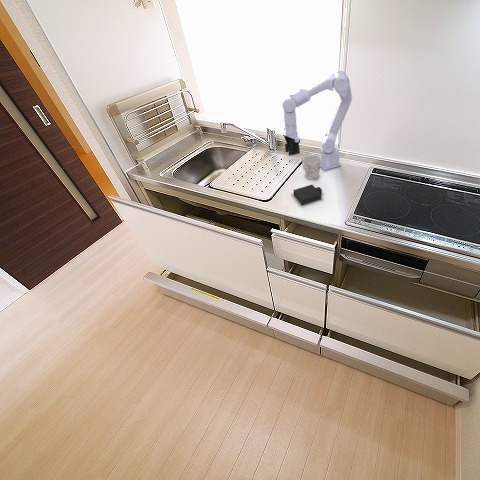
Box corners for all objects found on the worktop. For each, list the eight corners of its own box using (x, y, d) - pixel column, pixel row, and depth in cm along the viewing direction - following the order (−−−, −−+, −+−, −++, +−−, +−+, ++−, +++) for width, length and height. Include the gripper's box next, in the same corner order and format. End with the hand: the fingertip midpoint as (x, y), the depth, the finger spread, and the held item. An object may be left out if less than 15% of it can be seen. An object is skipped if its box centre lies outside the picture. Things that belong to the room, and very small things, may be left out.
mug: (297, 174, 136) (296, 156, 129) (308, 168, 140) (307, 150, 133) (312, 182, 131) (312, 164, 123) (324, 176, 135) (324, 158, 128)
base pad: (315, 188, 127) (316, 183, 125) (325, 198, 122) (325, 192, 120) (293, 195, 123) (293, 189, 121) (302, 205, 118) (301, 200, 116)
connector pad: (295, 149, 141) (295, 141, 137) (299, 153, 137) (299, 145, 134) (285, 151, 139) (284, 143, 135) (289, 155, 135) (288, 147, 132)
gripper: (277, 120, 130) (280, 145, 140) (289, 131, 121) (291, 157, 131) (290, 117, 133) (292, 143, 142) (302, 128, 124) (303, 154, 134)
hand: (292, 150), depth 137 cm, fingers closed on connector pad, 5 cm apart
